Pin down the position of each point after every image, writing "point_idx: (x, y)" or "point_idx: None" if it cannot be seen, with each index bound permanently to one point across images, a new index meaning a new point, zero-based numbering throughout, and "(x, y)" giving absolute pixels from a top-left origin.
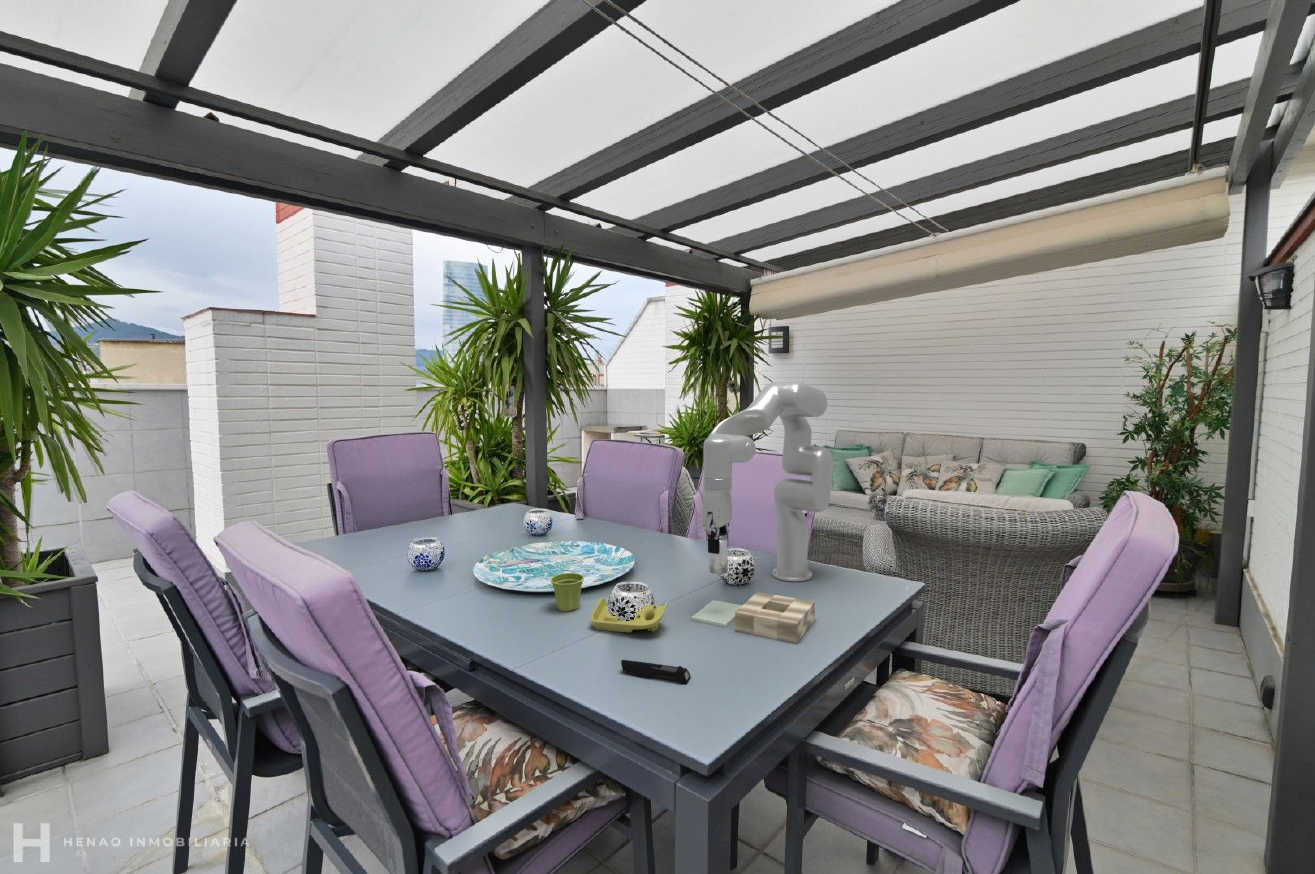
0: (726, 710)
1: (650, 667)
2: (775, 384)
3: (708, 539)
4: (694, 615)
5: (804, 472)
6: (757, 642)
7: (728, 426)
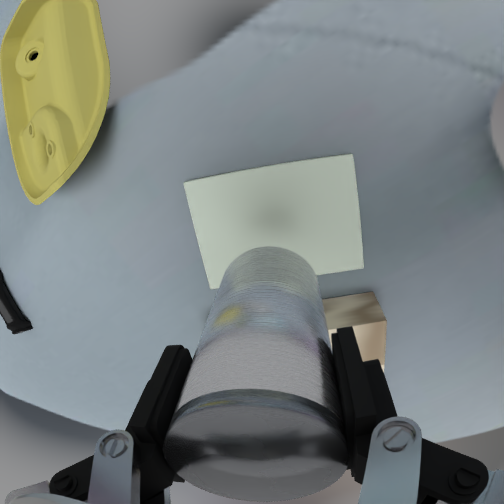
0: (37, 386)
1: None
2: None
3: (135, 420)
4: (200, 182)
5: None
6: None
7: None
